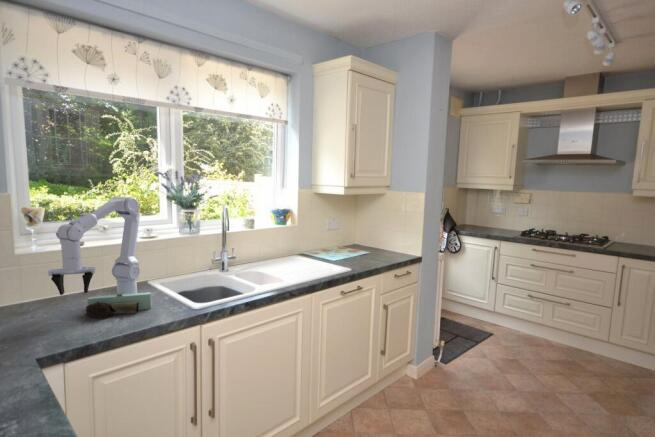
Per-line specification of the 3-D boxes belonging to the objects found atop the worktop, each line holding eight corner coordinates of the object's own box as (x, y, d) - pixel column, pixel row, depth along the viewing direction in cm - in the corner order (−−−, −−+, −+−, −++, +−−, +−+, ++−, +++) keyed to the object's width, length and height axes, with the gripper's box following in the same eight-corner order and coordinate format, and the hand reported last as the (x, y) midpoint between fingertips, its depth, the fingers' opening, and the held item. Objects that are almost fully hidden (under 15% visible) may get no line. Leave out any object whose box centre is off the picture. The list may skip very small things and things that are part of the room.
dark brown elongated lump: (139, 310, 149) (138, 297, 148) (135, 317, 143) (135, 303, 142) (88, 314, 144) (87, 300, 143) (82, 321, 138) (81, 306, 137)
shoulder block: (90, 311, 147) (89, 294, 146) (151, 306, 153) (151, 290, 153) (88, 314, 144) (87, 297, 143) (150, 308, 151) (150, 292, 150)
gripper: (43, 260, 130) (46, 298, 132) (91, 258, 135) (93, 294, 137) (51, 256, 137) (54, 292, 139) (96, 254, 142) (98, 289, 143)
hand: (74, 293), depth 138 cm, fingers open, 7 cm apart
